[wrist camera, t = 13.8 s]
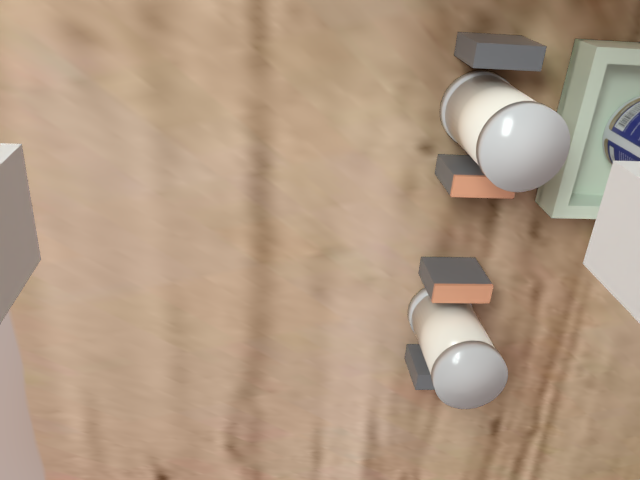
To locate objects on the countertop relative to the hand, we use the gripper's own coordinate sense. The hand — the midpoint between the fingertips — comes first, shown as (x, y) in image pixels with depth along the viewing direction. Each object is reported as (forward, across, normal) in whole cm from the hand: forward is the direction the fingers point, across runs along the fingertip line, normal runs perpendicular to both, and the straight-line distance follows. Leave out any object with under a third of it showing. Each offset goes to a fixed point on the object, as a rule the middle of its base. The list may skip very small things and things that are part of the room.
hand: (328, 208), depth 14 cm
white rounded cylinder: (+29, +14, -22) cm, 39 cm away
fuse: (+29, +14, -5) cm, 32 cm away
